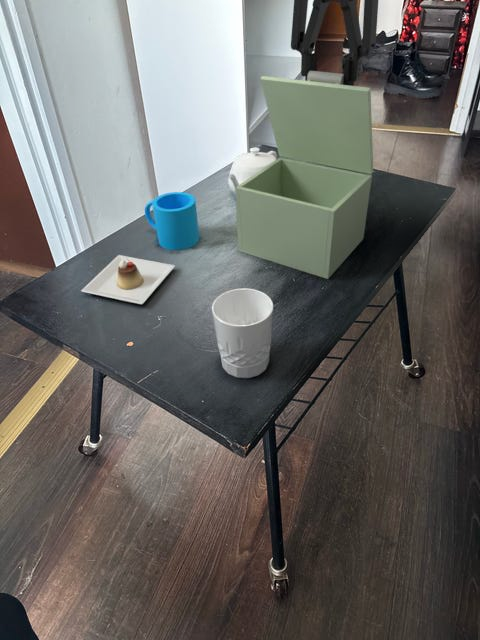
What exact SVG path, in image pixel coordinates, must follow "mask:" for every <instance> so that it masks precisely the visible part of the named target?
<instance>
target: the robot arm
mask: <svg viewBox="0 0 480 640" xmlns="http://www.w3.org/2000/svg"><path fill="white" fill-rule="evenodd" d="M330 2H334V3H339V6H340V10H341V11H342V16H343V20H344V21H343V22H344V27H345V33H346V38H347V44H348V51H349V56H347V58H345V59H344V67H343V68H344V69H343V74H344V79H343V85H349V86H355V82H357V81H359V80H360V77H361V72H362V61H363V59H364V57H365V56H368V55H370V54H372V53H374V52H375V51H376V44H377V31H378V30H377V29H378V15H379V13H378V12H379V0H364V1H363V21H362V31H361V26H360V25H361V24H360V19H359V11H358V0H313V1H312V6H311V7H312V9H311V13H310V16H309V19H308V23H307V16H308V5H309V0H293V9H292V10H293V11H292V23H291V35H290V36H291V37H290V49H291V50H292V51H297V52H299V53H300V56H301V57H300V58H301V60H300V61H301V63H300V75H301V77H304V81H307V76H308V73H309V71H318V59H319V58H318V57H319V54H318V53H317V52H315V51H316V48H315V46H316V43H317V41H318V40H317V39H318V36H319V34H320V30H321V27H322V24H323V21H324V18H325V15H326V11H327V9H328V7H329V5H330Z"/></svg>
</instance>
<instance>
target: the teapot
mask: <svg viewBox="0 0 480 640" xmlns="http://www.w3.org/2000/svg"><path fill="white" fill-rule="evenodd" d="M260 150H261V149H260V147H255V146H254V147H251V148H249V151H250V152H244V153H242V154H240V155H238V156H236V157H235V159H234V161H233V162H232V165H231V168H230V171H229V175H228V179H227V183H228V187H229V189H230V191H231V192H232V193H233V194H234V195H236V193H235V187H237V186H238V185H240V184H241V183H243V182H244V181H246V180H247V179H249V178H250V177H252V176H253V175H255V174H256V173H258V172H259V171H261V170H262V169H263V168H265V167H266V166H268V165H269V164H271V163H272V162H274V161H275V160H277V159H278V155H277V152H276V151H274V150H269V151H267V152H264V151H260Z"/></svg>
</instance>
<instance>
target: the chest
mask: <svg viewBox="0 0 480 640" xmlns="http://www.w3.org/2000/svg"><path fill="white" fill-rule="evenodd" d="M372 178H373V175H372V174H368V173H363V172H358V171H353V170H347V169H342V168H337V167H332V166H327V165H322V164H317V163H312V162H307V161H302V160H297V159H291V158H286V157H281V156H279V157H277V159H276V160H275V161H274V162H272V163H271V164H269V165H268V166H266V167H265V168H263V169H262V170H261V171H259V172H258V173H256V174H255V175H253V176H252V177H250V178H249V179H247V180H246V181H244V182H243V183H241V184H240V185H238V186H237V187H235V193H236V194H235V209H236V230H237V247H238V249H237V250H238V252H240V253H243V254H246V255H250V256H253V257H256V258H259V259H262V260H266V261H269V262H272V263H275V264H279V265H282V266H285V267H288V268H292V269H295V270H298V271H300V272H304V273H306V274H311V275H313V276H317V277H319V278H323V279H326V280H329V279H330V278H331V276H333V274H334V273H335V272H336V271H337V270H338V269H339V268H340V267H341V265H342V264H343V263H344V262H345V261H346V260H347V258H348V257H349V256H350V255H351V254H352V252H353V251H355V249H356V248H357V246H359V244H361V243H362V241H363V240H364V237H365V231H366V222H367V216H368V207H369V201H370V194H371V193H370V192H371V187H372V186H371V185H372V180H373V179H372Z"/></svg>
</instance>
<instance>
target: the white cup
mask: <svg viewBox="0 0 480 640" xmlns="http://www.w3.org/2000/svg"><path fill="white" fill-rule="evenodd" d="M211 312H212V318H213V324H214V332H215V337H216V341H217V342H216V343H217V347H218V351H219V355H220V359H221V366H222V368H223V370H224V371H225V372H226V374H228V375H230V376H232V377H235V378H238V379H251V378H253V377H254V378H255V377H257V376H260V375H261V374H262V373H264V372H265V371H266V370H267V368H268V366H269V363H270V356H271V355H270V354H271V353H270V352H271V347H272V337H273V336H272V335H273V319H274V318H273V317H274V303H273V300H272V299H271V297H270V296H269V295H267V294H266V293H264V292H263V291H260V290H258V289H254V288H247V287H245V288H244V287H243V288H241V287H240V288H234V289H230V290H227V291H225V292H222V293H221V294H219V295H218V296H217V297H216V298H215V299H214V301H213V303H212V305H211Z"/></svg>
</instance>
